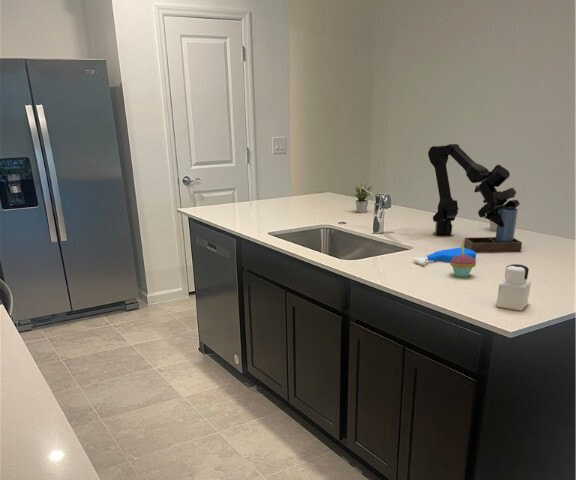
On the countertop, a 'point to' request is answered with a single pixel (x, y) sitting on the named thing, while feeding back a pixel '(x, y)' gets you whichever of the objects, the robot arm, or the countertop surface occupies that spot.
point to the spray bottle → (444, 255)
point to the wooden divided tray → (491, 245)
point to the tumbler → (506, 225)
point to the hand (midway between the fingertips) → (509, 225)
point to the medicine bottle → (514, 288)
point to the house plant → (361, 199)
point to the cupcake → (462, 264)
